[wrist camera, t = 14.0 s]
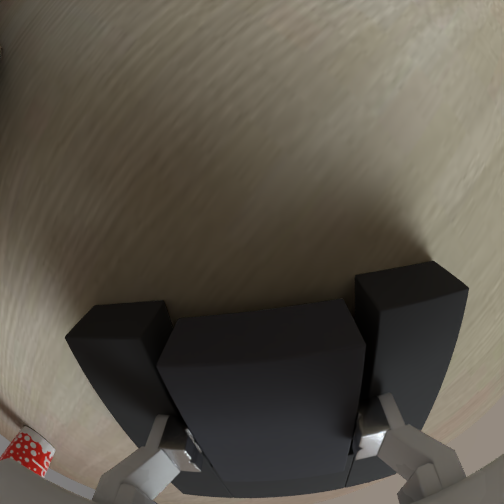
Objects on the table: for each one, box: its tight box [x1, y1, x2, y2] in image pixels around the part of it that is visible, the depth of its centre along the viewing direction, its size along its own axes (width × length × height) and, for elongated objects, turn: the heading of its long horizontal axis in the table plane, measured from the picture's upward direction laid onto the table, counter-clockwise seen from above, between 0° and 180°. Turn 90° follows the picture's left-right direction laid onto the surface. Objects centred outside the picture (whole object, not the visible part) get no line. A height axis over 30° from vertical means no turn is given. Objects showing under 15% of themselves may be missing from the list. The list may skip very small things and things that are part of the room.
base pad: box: [65, 261, 469, 498], centre depth 11 cm, size 14×14×2 cm
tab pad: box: [157, 299, 366, 482], centre depth 9 cm, size 8×6×2 cm
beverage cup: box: [0, 426, 55, 478], centre depth 11 cm, size 6×6×14 cm
